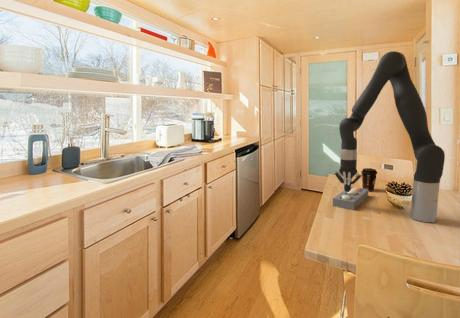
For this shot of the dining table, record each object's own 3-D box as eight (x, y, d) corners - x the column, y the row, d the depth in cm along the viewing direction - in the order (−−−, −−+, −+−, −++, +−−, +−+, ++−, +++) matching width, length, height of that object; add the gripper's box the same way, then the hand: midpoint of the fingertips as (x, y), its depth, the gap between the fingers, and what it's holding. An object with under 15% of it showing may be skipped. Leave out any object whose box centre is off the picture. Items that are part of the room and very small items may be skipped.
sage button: (352, 200, 137) (352, 196, 137) (349, 203, 134) (349, 198, 133) (343, 199, 140) (343, 194, 139) (340, 201, 136) (340, 196, 136)
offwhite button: (357, 194, 144) (357, 189, 143) (354, 196, 140) (355, 191, 140) (348, 193, 146) (348, 188, 146) (346, 194, 143) (346, 190, 143)
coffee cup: (372, 188, 166) (374, 167, 164) (378, 192, 158) (380, 170, 156) (358, 188, 167) (359, 167, 165) (363, 191, 159) (364, 170, 157)
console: (368, 196, 151) (368, 189, 150) (353, 210, 130) (353, 202, 129) (349, 193, 158) (349, 186, 157) (332, 205, 137) (333, 198, 136)
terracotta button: (361, 192, 150) (361, 188, 150) (359, 194, 147) (359, 190, 147) (353, 191, 153) (353, 186, 153) (351, 193, 150) (351, 188, 150)
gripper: (365, 158, 132) (363, 191, 134) (337, 156, 140) (336, 188, 143) (360, 160, 126) (359, 195, 129) (332, 158, 135) (331, 191, 138)
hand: (347, 191), depth 136 cm, fingers closed
